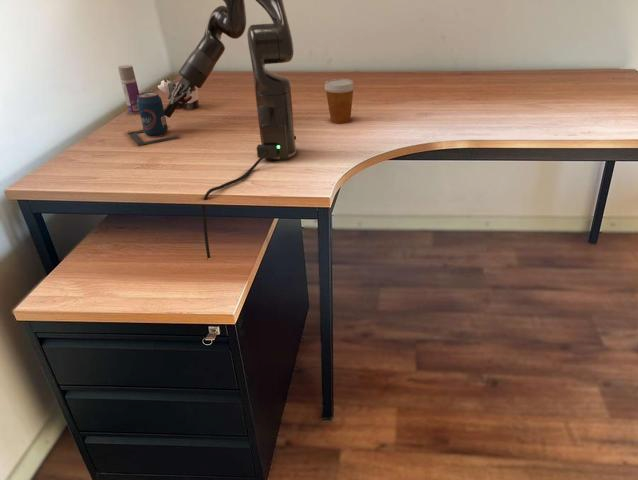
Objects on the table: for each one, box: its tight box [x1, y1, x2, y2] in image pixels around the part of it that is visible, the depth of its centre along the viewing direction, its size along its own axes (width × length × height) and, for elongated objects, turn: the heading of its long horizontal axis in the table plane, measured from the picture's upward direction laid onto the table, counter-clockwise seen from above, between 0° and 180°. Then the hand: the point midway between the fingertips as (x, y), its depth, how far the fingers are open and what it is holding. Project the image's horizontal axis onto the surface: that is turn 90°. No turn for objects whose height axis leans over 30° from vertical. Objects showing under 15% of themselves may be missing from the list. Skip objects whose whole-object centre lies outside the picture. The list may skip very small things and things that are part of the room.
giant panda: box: [157, 77, 199, 111], centre depth 189 cm, size 15×6×10 cm, turn 72°
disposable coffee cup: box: [323, 78, 355, 124], centre depth 173 cm, size 10×10×12 cm
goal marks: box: [127, 129, 180, 147], centre depth 166 cm, size 12×14×1 cm
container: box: [117, 64, 140, 115], centre depth 183 cm, size 5×5×15 cm
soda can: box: [137, 91, 169, 138], centre depth 164 cm, size 7×7×12 cm
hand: (165, 115), depth 166 cm, fingers closed
